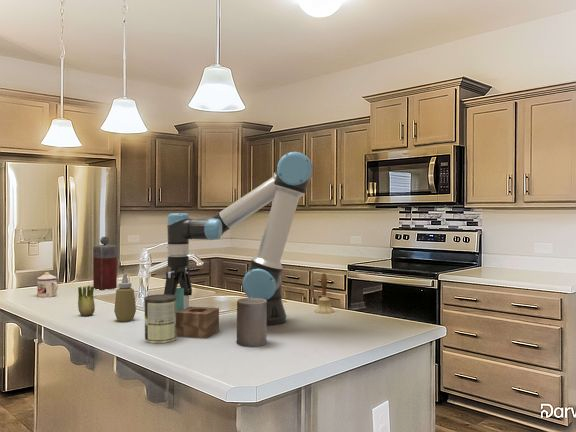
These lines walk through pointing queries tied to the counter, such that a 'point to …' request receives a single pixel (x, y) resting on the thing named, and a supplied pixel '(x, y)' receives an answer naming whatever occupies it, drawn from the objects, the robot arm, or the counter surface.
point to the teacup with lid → (47, 285)
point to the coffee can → (160, 318)
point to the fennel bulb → (86, 301)
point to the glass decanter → (104, 265)
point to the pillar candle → (251, 321)
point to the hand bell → (324, 299)
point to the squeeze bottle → (125, 301)
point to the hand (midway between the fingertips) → (178, 316)
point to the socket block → (197, 322)
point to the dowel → (179, 299)
